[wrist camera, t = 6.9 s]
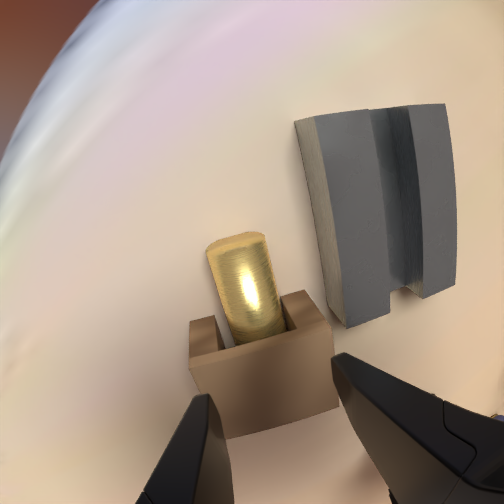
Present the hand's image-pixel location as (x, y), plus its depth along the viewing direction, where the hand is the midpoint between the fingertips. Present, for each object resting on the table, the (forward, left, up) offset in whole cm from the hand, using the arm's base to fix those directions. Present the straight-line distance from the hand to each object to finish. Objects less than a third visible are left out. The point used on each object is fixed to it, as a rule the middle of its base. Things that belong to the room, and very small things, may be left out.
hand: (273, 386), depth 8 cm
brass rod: (0, +4, -10) cm, 11 cm away
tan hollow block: (0, +6, -10) cm, 12 cm away
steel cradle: (-9, -1, -10) cm, 13 cm away
